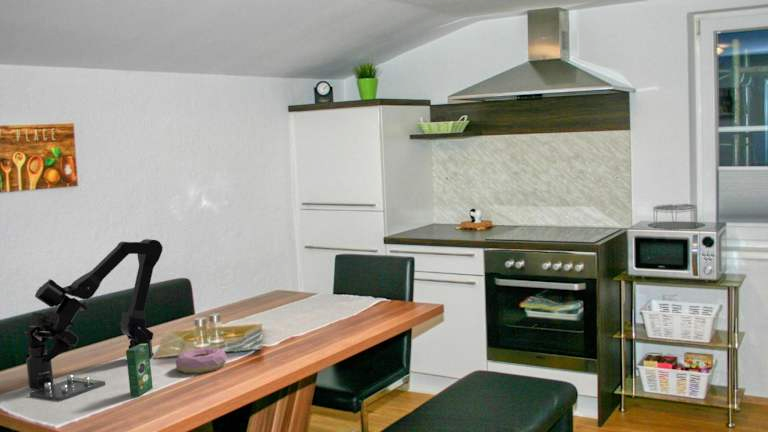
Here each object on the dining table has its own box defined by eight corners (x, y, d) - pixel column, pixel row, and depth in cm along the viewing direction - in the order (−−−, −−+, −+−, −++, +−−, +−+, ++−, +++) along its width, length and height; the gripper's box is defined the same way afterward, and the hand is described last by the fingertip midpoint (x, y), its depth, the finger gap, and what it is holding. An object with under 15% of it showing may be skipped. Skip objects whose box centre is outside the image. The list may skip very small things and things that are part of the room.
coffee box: (144, 387, 227) (139, 342, 226) (153, 387, 226) (148, 342, 225) (129, 397, 219) (124, 350, 218) (139, 396, 218) (134, 350, 217)
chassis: (74, 380, 240) (73, 371, 240) (105, 384, 233) (104, 374, 233) (29, 396, 228) (28, 385, 228) (61, 401, 220) (59, 390, 220)
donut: (166, 372, 243) (164, 355, 242) (206, 359, 254) (205, 343, 254) (197, 378, 233) (195, 361, 232) (238, 364, 244) (236, 348, 244)
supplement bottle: (44, 389, 233) (39, 349, 232) (24, 390, 235) (19, 350, 234) (58, 382, 240) (54, 343, 239) (38, 382, 242) (33, 344, 240)
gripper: (26, 299, 244) (-3, 344, 236) (65, 302, 234) (36, 348, 226) (51, 319, 252) (24, 363, 243) (90, 322, 242) (63, 368, 233)
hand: (36, 360), depth 236 cm, fingers open, 9 cm apart
